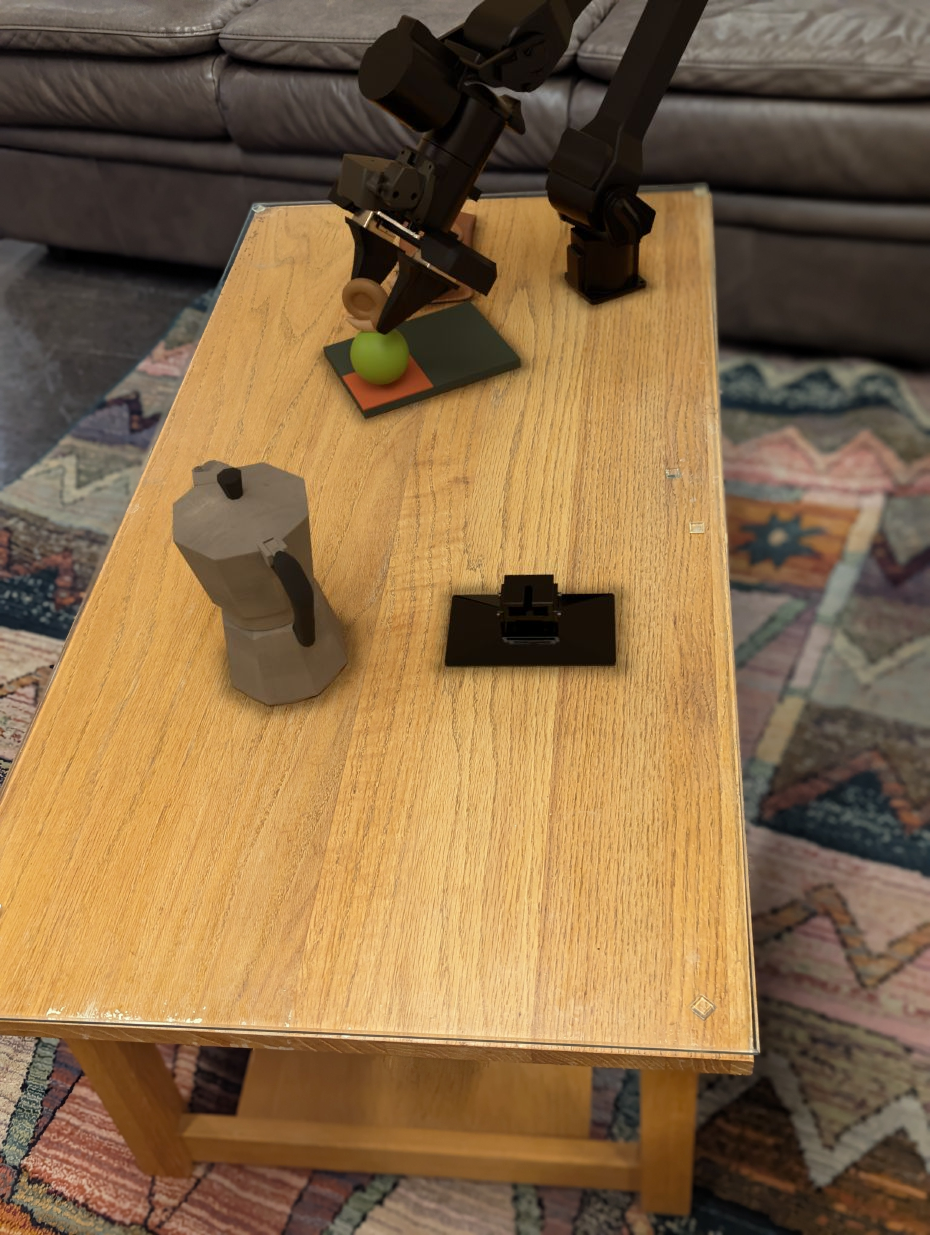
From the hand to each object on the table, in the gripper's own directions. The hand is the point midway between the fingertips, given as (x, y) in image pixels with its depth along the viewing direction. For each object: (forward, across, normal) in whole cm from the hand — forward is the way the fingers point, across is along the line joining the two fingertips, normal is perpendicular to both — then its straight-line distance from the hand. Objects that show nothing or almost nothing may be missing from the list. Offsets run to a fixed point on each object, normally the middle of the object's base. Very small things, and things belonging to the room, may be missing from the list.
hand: (365, 321), depth 96 cm
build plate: (+11, +33, 0) cm, 35 cm away
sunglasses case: (-7, -16, +19) cm, 26 cm away
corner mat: (+1, -2, +10) cm, 10 cm away
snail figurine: (+4, 0, +6) cm, 7 cm away
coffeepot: (+22, +24, -11) cm, 35 cm away
